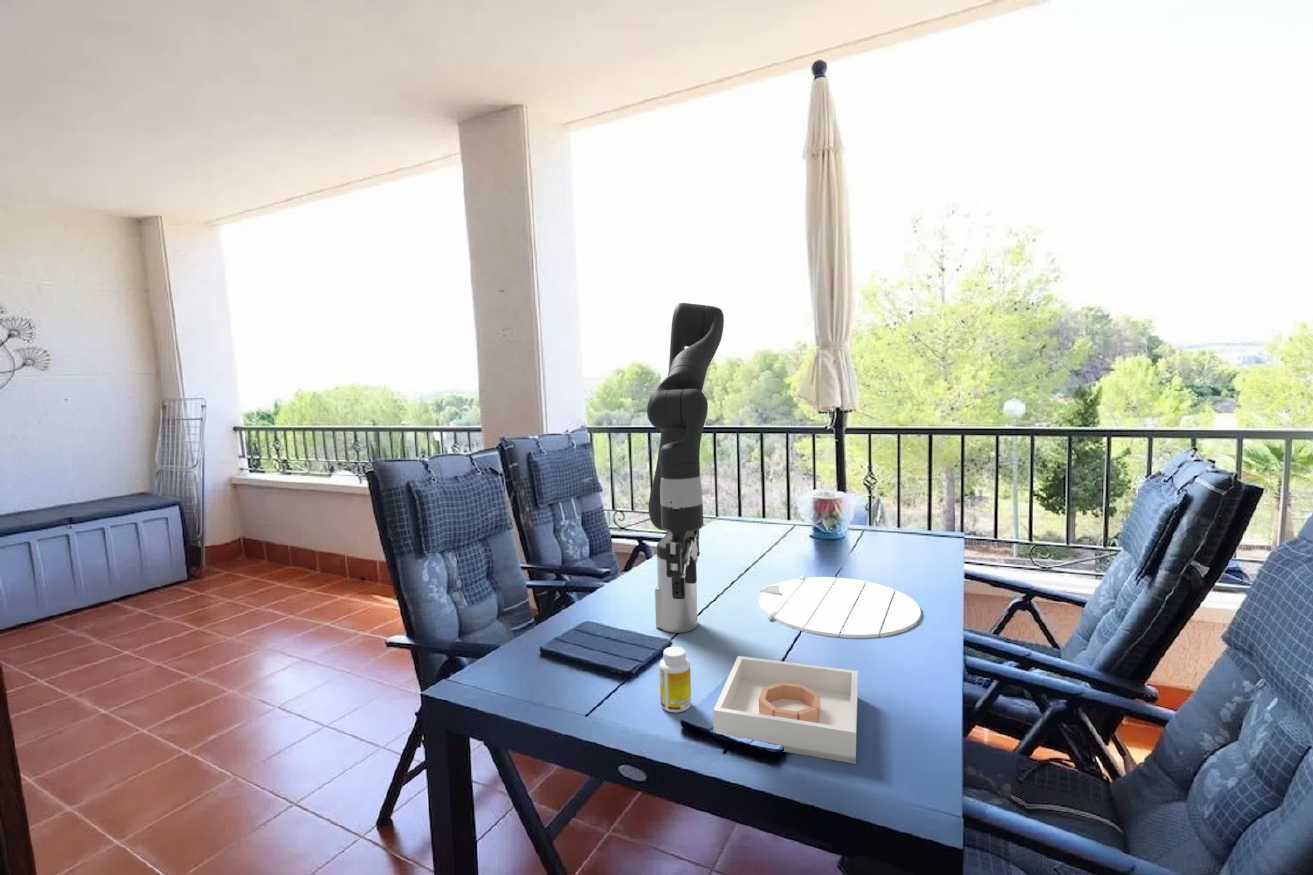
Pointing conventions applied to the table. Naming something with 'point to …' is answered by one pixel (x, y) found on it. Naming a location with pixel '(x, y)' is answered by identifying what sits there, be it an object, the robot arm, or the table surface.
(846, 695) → the walled box
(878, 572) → the table surface
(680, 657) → the supplement bottle
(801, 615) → the white round slatted board
